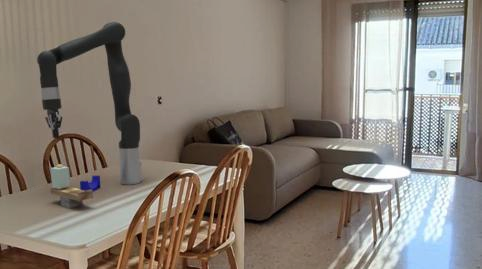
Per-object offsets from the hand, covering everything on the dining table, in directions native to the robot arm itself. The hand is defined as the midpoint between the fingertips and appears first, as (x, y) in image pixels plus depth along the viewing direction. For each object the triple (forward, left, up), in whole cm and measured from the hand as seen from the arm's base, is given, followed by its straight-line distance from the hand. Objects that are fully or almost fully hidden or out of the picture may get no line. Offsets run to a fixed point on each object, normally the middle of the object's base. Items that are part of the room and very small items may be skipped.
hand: (56, 138), depth 201 cm
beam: (+8, +21, -25) cm, 33 cm away
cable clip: (-10, +8, -25) cm, 28 cm away
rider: (+8, +14, -18) cm, 24 cm away
